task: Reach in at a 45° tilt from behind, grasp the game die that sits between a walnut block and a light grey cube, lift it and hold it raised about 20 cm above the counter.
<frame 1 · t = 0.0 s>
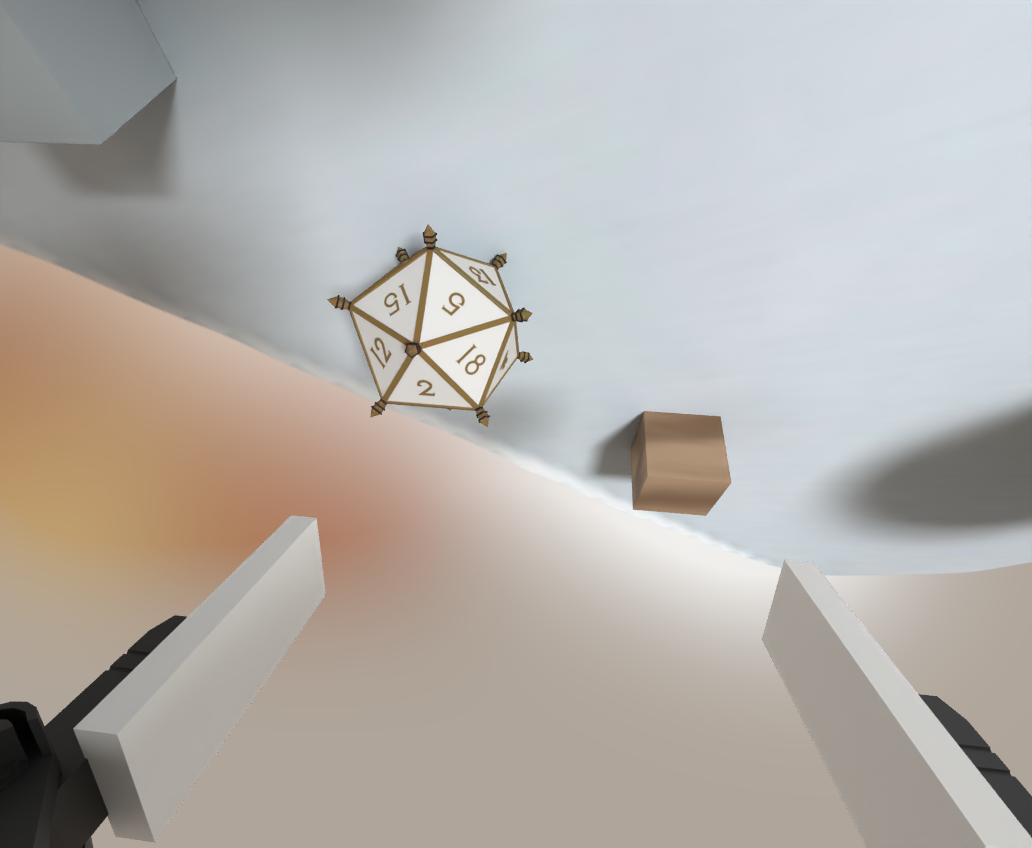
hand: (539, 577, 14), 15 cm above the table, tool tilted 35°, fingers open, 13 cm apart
game die: (456, 273, 24), on the table
walnut block: (672, 433, 34), on the table
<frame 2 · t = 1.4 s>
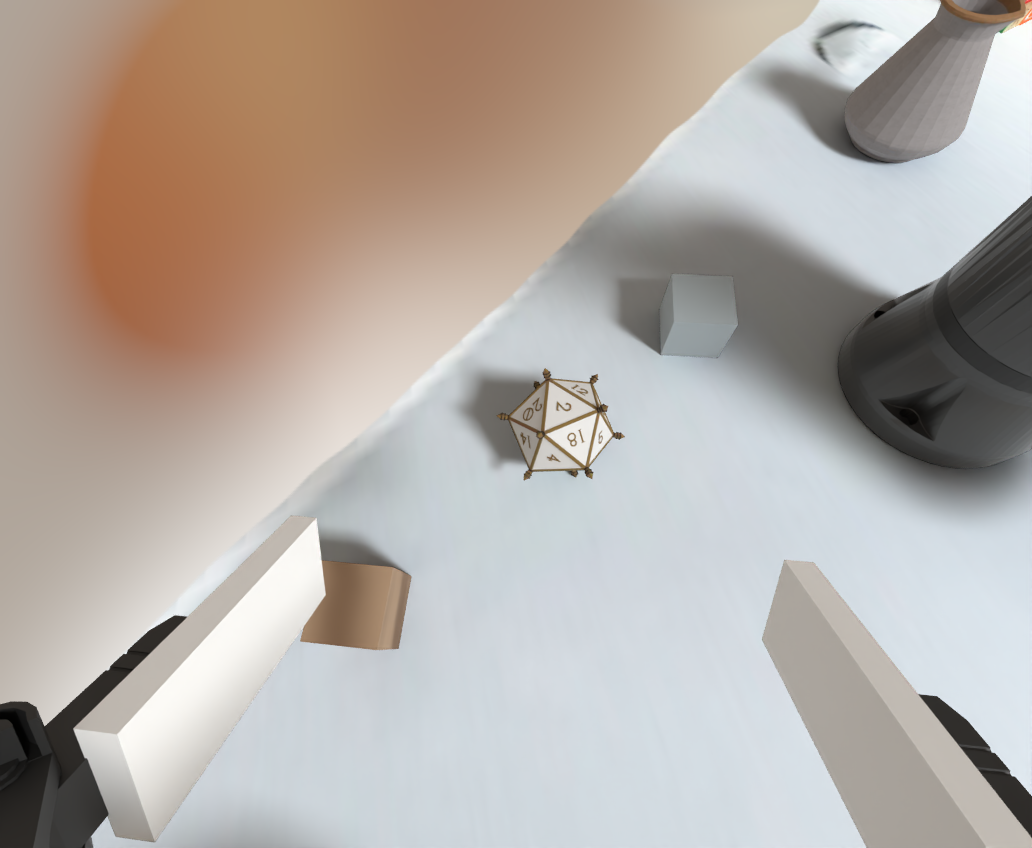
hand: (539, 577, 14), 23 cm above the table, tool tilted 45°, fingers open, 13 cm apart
light grey cube: (687, 333, 44), on the table
game die: (559, 446, 40), on the table
walnut block: (372, 608, 36), on the table
coffee pot: (908, 119, 54), on the table
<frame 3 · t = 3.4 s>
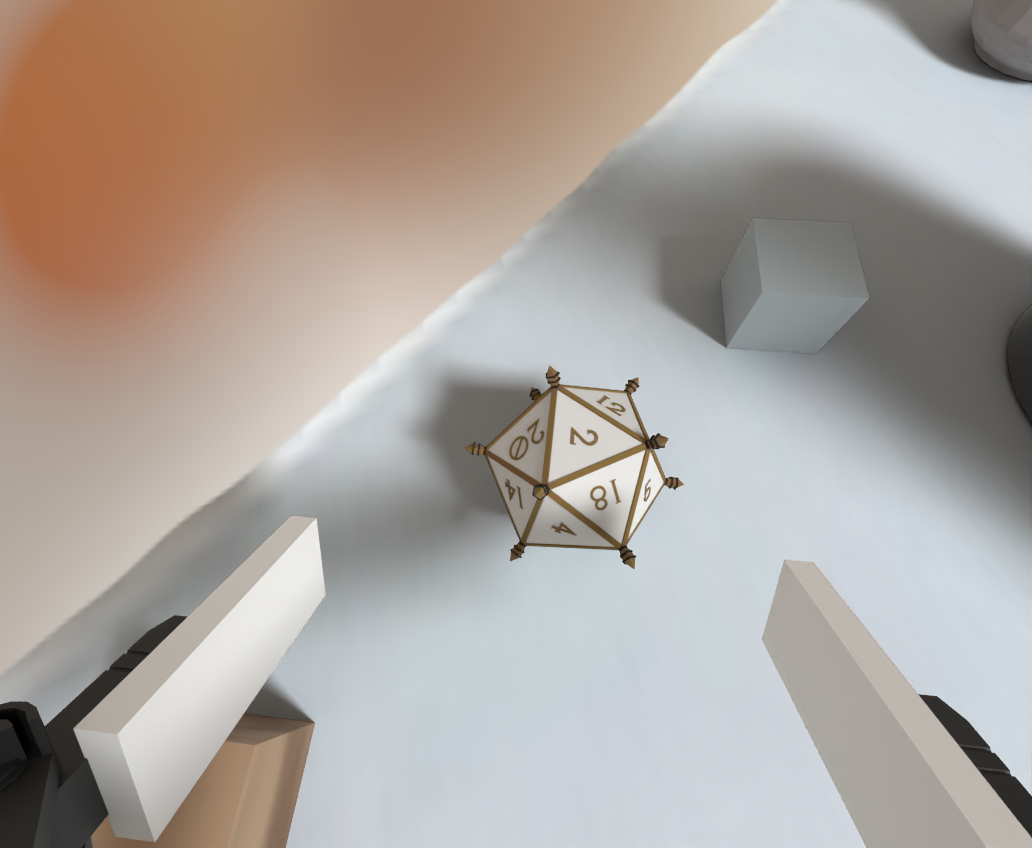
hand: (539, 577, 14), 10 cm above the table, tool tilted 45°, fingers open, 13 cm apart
light grey cube: (765, 316, 29), on the table
game die: (570, 492, 25), on the table
walnut block: (242, 783, 20), on the table
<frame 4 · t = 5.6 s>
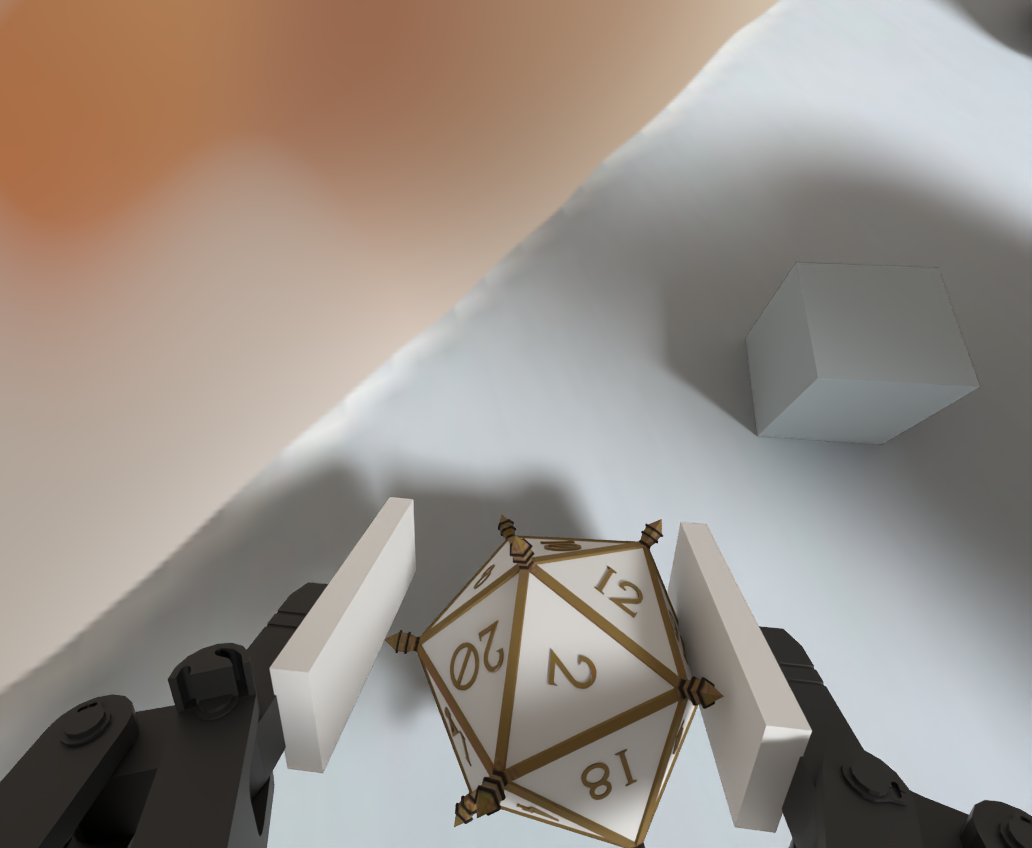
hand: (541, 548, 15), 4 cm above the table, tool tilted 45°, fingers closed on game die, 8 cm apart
light grey cube: (808, 389, 21), on the table
game die: (558, 661, 17), on the table, touching gripper
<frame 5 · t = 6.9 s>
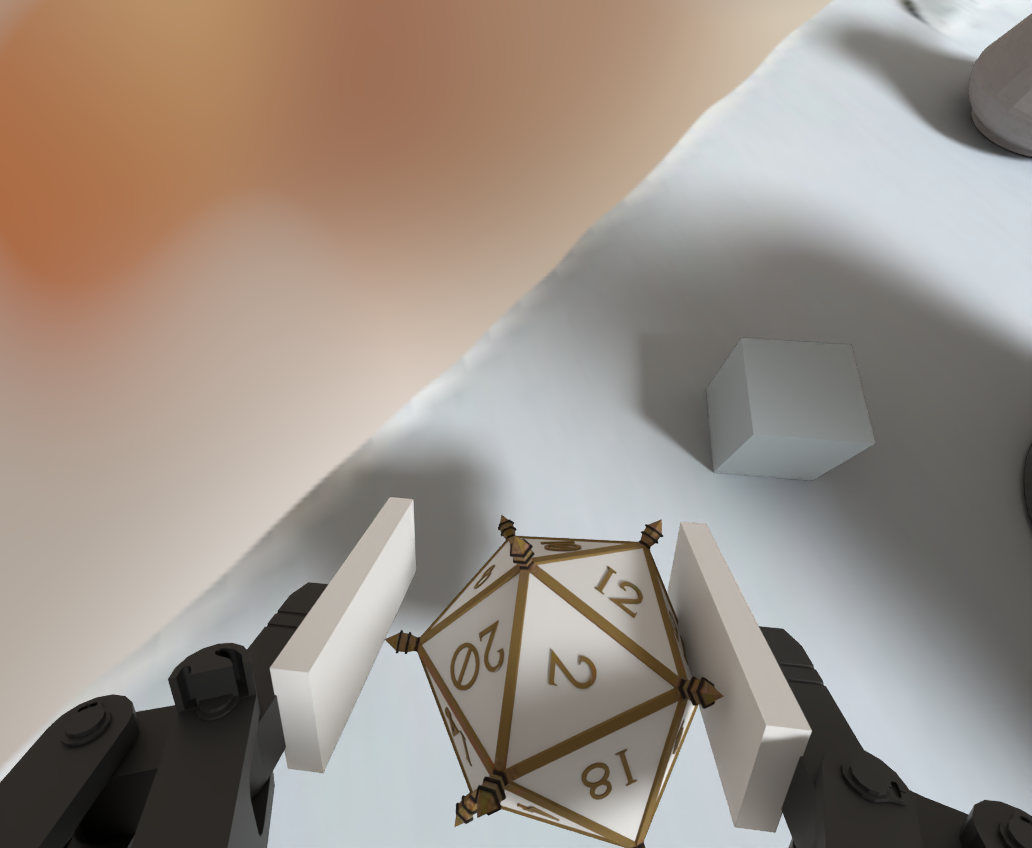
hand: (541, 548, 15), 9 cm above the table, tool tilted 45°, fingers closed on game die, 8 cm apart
light grey cube: (756, 433, 26), on the table
game die: (558, 661, 17), point 4 cm above the table, touching gripper
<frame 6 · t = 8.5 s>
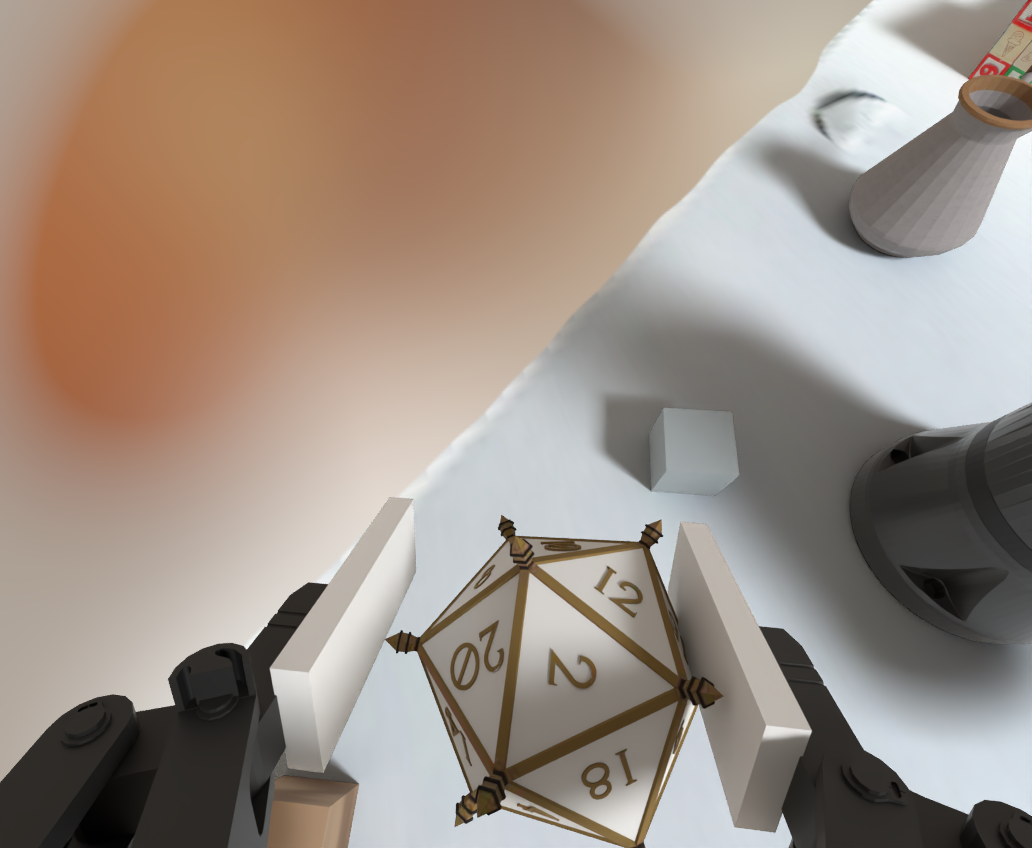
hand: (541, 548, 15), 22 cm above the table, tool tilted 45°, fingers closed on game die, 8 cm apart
light grey cube: (680, 464, 39), on the table
game die: (558, 661, 17), point 18 cm above the table, touching gripper
walnut block: (311, 827, 30), on the table
coffee pot: (916, 205, 50), on the table
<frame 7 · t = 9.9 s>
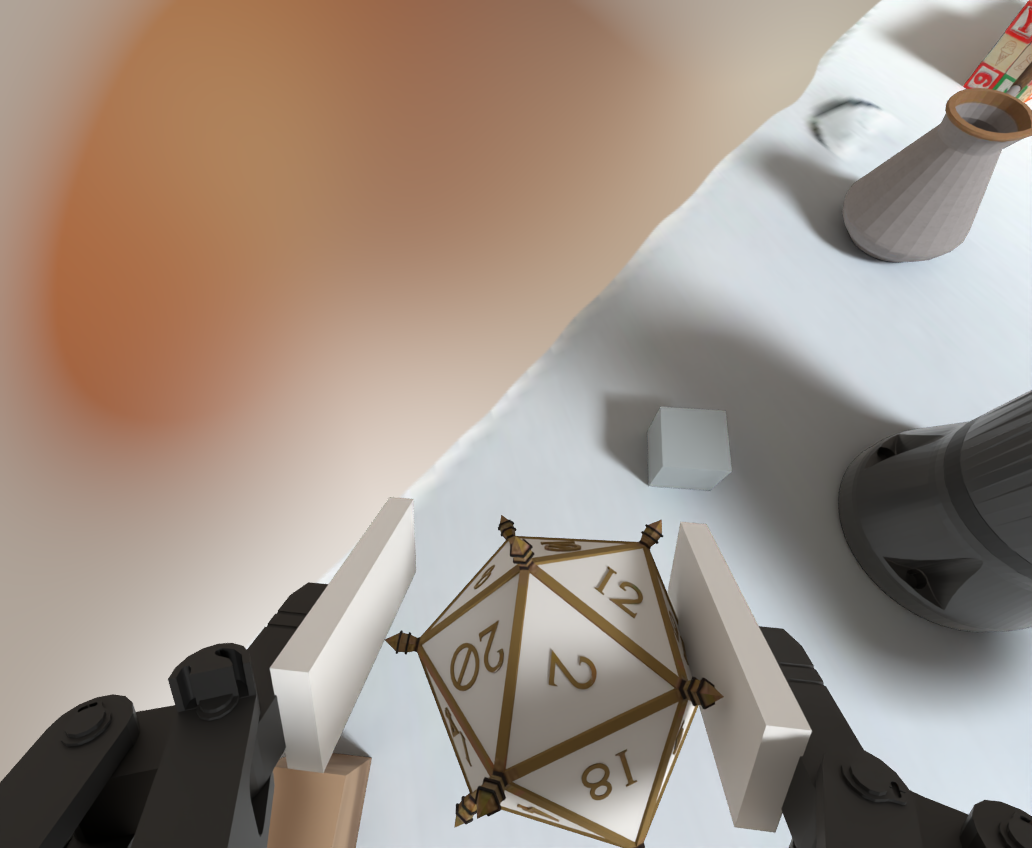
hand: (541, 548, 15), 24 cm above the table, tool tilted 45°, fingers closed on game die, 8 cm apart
light grey cube: (677, 460, 41), on the table
game die: (558, 661, 17), point 20 cm above the table, touching gripper
walnut block: (327, 797, 32), on the table
coffee pot: (908, 212, 52), on the table
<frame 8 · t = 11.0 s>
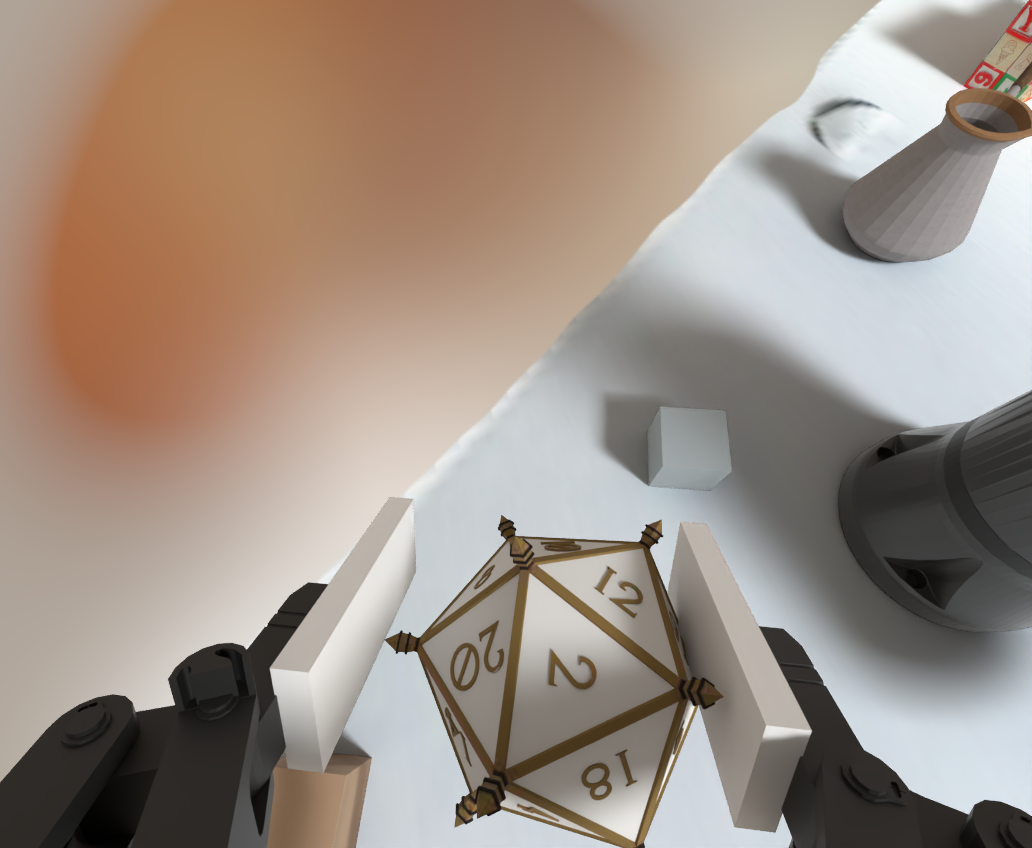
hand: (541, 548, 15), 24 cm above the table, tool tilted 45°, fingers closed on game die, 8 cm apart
light grey cube: (677, 460, 41), on the table
game die: (558, 661, 17), point 20 cm above the table, touching gripper
walnut block: (327, 797, 32), on the table
coffee pot: (908, 212, 52), on the table
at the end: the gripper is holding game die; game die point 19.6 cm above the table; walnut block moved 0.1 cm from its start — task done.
